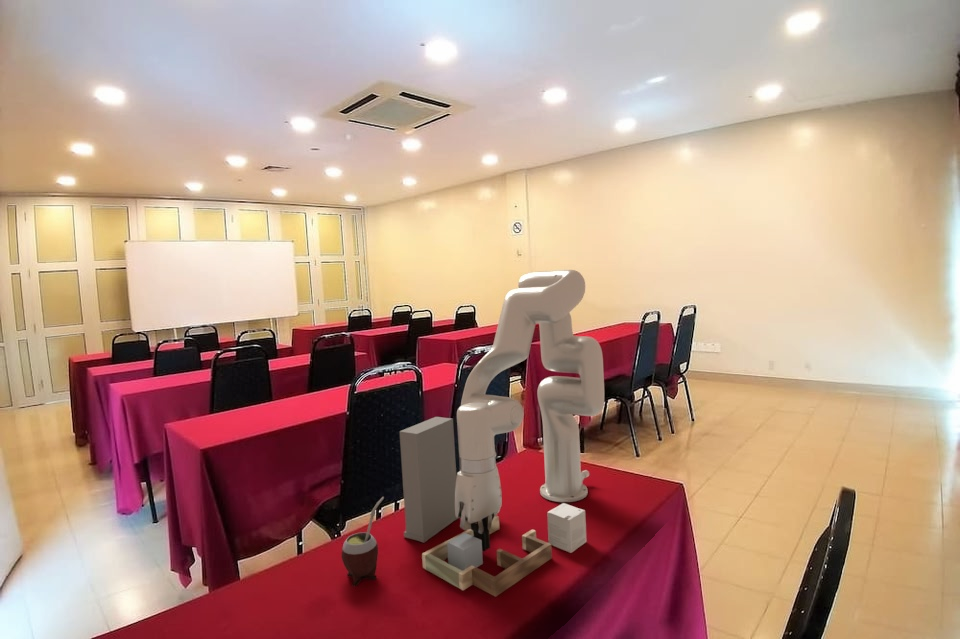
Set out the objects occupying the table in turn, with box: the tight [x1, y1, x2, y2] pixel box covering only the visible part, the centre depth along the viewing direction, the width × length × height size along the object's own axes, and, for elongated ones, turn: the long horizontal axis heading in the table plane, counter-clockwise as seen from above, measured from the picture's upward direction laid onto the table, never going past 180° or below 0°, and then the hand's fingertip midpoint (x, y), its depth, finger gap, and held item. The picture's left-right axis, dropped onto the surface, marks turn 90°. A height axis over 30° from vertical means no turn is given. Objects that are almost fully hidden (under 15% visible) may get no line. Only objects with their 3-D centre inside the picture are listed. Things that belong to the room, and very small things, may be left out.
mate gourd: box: [341, 496, 385, 587], centre depth 102 cm, size 8×8×15 cm
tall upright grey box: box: [398, 416, 459, 544], centre depth 120 cm, size 14×6×25 cm, turn 147°
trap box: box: [421, 514, 553, 597], centre depth 105 cm, size 22×18×3 cm
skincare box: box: [546, 502, 587, 554], centre depth 110 cm, size 6×6×7 cm
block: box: [447, 532, 484, 571], centre depth 104 cm, size 5×5×5 cm
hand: (482, 547), depth 107 cm, fingers closed
